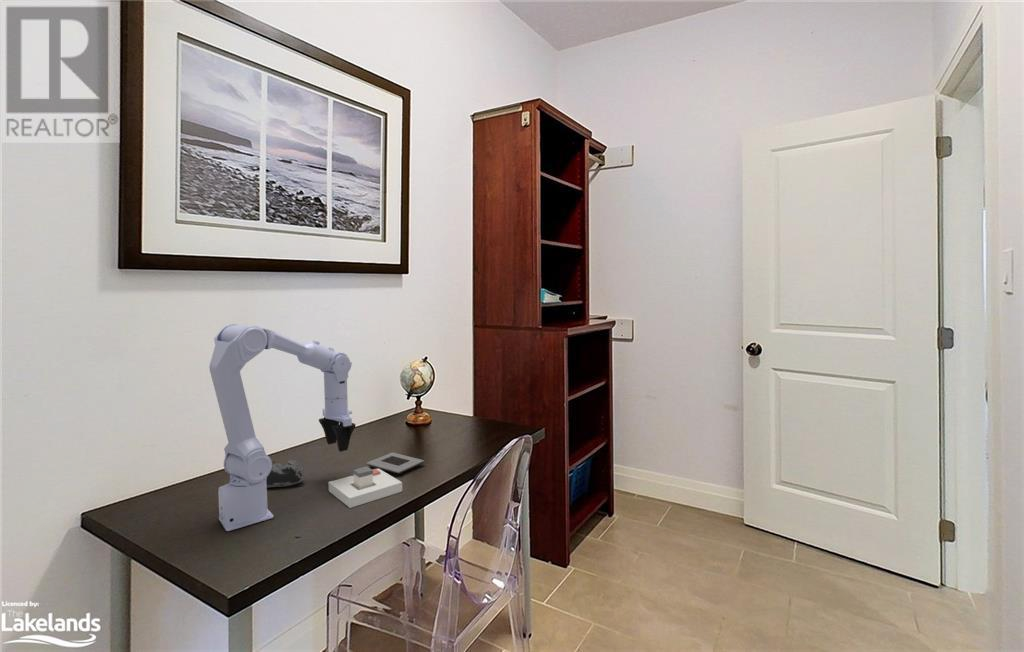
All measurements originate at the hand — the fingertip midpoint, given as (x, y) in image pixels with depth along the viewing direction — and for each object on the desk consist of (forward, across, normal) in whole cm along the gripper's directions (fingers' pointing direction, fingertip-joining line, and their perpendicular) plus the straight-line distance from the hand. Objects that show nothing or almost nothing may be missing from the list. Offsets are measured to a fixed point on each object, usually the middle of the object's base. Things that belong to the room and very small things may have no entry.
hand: (337, 446), depth 128 cm
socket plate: (+10, -10, -3) cm, 14 cm away
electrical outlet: (+10, 0, -17) cm, 20 cm away
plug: (+10, -11, -2) cm, 15 cm away
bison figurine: (+10, +11, +11) cm, 18 cm away
